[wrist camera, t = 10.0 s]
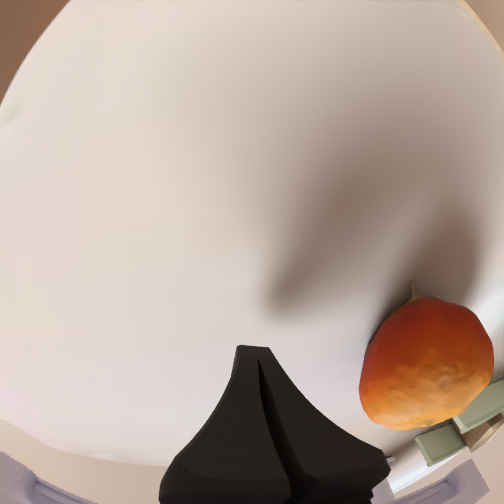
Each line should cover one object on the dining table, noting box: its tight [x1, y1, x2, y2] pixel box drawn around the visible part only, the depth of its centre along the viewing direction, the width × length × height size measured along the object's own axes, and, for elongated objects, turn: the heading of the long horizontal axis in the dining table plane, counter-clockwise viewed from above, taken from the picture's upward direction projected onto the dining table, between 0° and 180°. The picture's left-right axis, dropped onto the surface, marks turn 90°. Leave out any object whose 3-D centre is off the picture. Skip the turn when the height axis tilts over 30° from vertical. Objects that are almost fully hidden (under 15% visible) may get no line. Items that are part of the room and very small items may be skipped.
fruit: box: [359, 280, 494, 431], centre depth 12 cm, size 8×8×8 cm
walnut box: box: [452, 413, 504, 453], centre depth 18 cm, size 4×4×6 cm
